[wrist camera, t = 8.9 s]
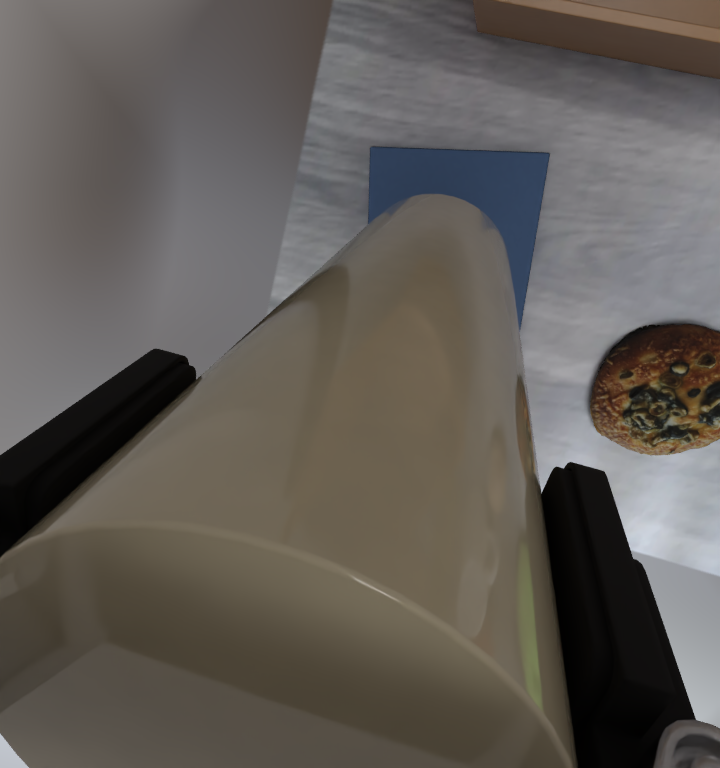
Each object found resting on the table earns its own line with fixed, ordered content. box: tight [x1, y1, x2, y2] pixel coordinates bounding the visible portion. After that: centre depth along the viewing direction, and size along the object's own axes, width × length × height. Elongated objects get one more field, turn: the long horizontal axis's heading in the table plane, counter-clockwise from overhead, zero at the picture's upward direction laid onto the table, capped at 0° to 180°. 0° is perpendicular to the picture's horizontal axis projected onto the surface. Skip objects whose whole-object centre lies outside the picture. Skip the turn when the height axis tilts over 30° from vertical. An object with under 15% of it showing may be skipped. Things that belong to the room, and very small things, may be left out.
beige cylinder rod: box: [0, 194, 578, 768], centre depth 14 cm, size 6×6×19 cm
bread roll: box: [590, 324, 720, 455], centre depth 39 cm, size 11×11×5 cm
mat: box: [368, 147, 550, 332], centre depth 41 cm, size 20×12×1 cm, turn 179°
